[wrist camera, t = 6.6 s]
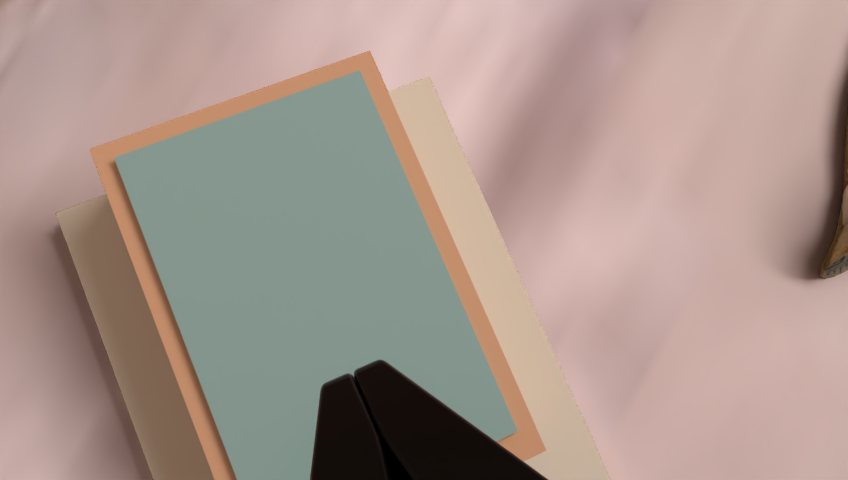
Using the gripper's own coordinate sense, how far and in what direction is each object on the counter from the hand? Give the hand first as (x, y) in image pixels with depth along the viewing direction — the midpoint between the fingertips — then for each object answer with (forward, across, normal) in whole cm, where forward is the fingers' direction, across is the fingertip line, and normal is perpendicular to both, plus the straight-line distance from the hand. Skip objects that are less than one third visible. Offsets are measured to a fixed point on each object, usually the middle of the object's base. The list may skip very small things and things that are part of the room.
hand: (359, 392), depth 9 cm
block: (+2, 0, +6) cm, 6 cm away
